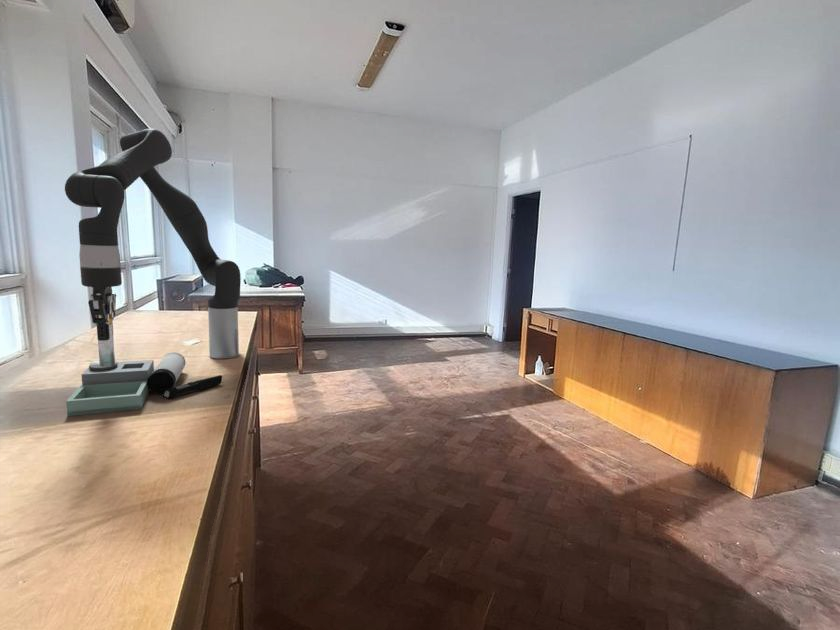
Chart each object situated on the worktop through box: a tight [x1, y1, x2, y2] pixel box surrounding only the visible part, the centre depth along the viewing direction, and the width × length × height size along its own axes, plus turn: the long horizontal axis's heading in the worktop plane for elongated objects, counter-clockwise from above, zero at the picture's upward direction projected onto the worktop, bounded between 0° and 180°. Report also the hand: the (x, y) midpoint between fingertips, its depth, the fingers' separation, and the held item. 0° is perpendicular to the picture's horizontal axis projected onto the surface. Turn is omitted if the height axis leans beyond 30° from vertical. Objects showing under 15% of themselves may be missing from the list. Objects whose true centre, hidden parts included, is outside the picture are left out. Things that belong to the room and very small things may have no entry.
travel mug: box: [147, 352, 186, 395], centre depth 120 cm, size 6×7×20 cm
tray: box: [65, 381, 149, 417], centre depth 104 cm, size 14×11×4 cm
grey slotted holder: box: [80, 359, 155, 393], centre depth 114 cm, size 14×10×7 cm
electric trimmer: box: [161, 374, 223, 401], centre depth 116 cm, size 4×16×3 cm, turn 147°
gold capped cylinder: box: [97, 318, 116, 367], centre depth 102 cm, size 3×3×11 cm
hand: (105, 337), depth 102 cm, fingers closed on gold capped cylinder, 3 cm apart
